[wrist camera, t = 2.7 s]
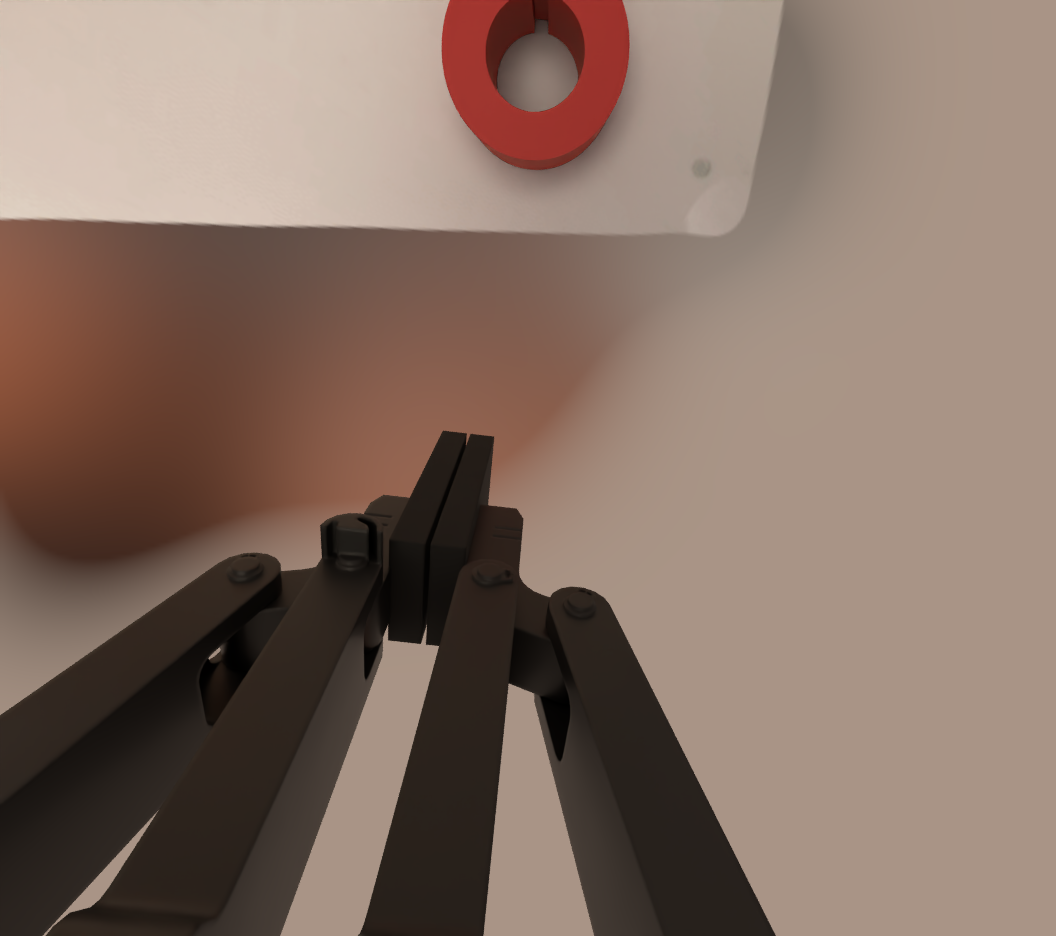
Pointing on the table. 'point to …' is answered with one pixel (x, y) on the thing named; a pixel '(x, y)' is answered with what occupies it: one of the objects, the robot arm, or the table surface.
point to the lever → (477, 49)
